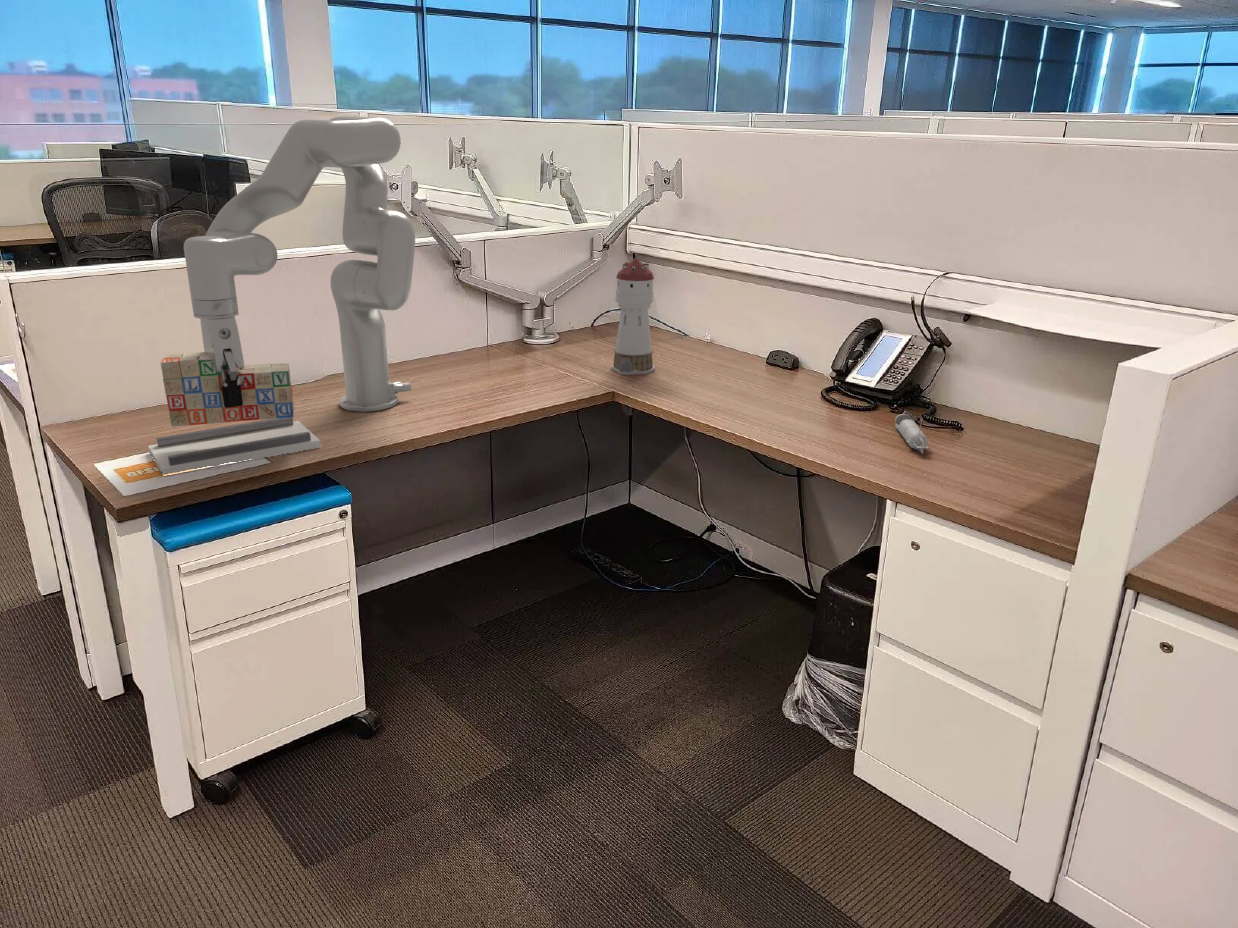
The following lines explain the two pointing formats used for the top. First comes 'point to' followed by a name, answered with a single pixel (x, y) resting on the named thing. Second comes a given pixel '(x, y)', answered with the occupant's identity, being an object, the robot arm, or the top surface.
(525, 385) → the top surface
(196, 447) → the base board
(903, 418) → the torpedo
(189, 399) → the stack of blocks
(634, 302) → the miniature model
